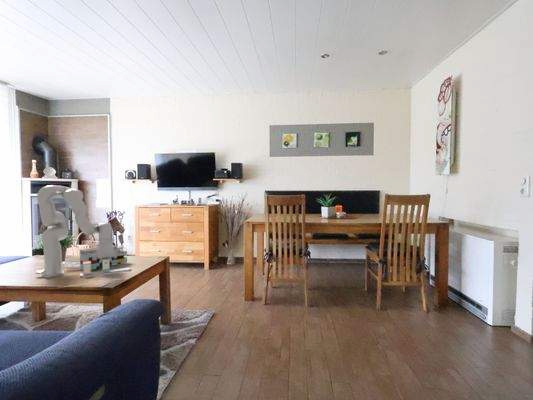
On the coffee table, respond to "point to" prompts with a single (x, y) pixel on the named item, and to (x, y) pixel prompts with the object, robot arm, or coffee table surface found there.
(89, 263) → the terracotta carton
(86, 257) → the toy vehicle
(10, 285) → the coffee table surface
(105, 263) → the teal carton
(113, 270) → the shelf board
